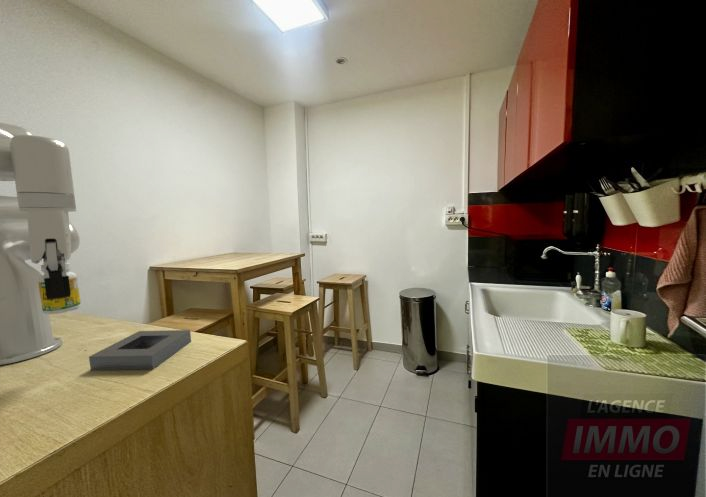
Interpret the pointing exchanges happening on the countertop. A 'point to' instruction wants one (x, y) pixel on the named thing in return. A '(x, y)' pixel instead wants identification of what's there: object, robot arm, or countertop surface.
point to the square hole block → (140, 350)
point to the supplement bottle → (63, 302)
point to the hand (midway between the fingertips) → (60, 293)
